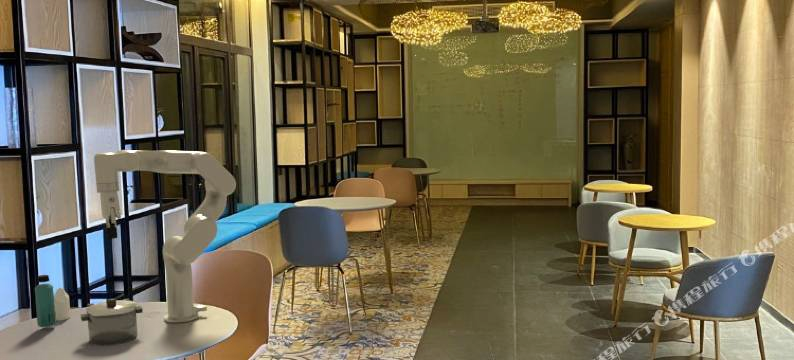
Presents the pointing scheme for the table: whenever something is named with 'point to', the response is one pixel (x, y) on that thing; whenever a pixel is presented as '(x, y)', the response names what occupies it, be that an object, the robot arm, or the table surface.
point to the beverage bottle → (45, 303)
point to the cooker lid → (111, 308)
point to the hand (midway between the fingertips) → (112, 238)
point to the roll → (62, 305)
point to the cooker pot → (112, 327)
